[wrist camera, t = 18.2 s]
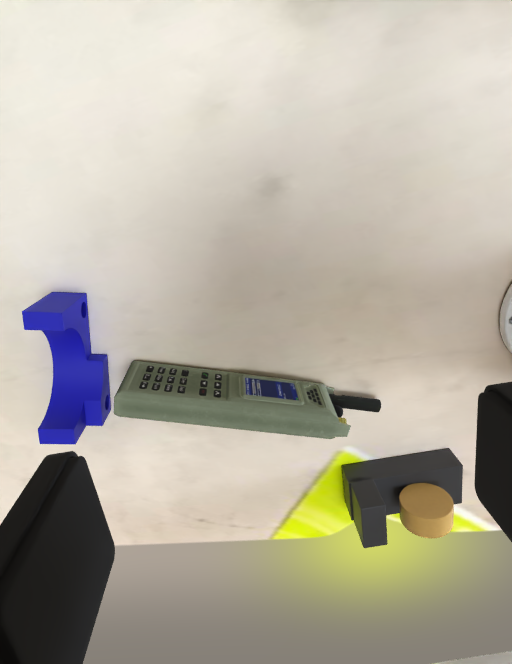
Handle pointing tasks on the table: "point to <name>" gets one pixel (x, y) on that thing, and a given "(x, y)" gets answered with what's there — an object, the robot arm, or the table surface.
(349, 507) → the tape dispenser
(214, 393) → the handheld radio
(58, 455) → the robot arm
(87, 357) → the blue semicircular clamp bracket
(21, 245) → the table surface
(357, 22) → the table surface
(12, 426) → the table surface
